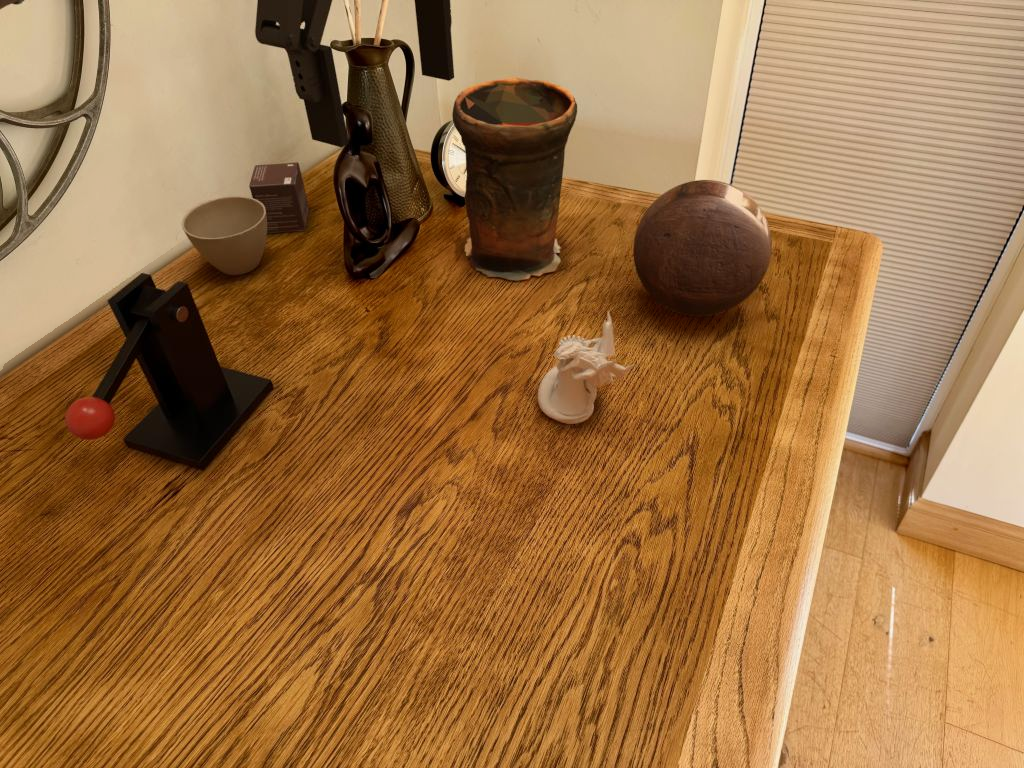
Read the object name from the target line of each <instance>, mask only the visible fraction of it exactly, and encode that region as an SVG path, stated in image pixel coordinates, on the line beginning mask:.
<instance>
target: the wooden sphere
mask: <svg viewBox="0 0 1024 768" xmlns="http://www.w3.org/2000/svg"><path fill="white" fill-rule="evenodd" d="M637 225H638V226H637V229H636V231H635V235H634V241H633V249H632V250H633V253H632V254H633V263H634V268H635V271H636V274H637V276H638V279H639V281H640V283H641V285H642V286H643V288H644V289H645V290H646V292H647V294H649V295H650V296H651V298H652V299H654V301H656V302H657V303H658V304H659V305H661V306H663V307H664V308H666V309H668V310H670V311H672V312H675V313H678V314H681V315H685V316H690V317H691V316H692V317H707V316H715V315H717V314H722V313H725V312H727V311H730V310H731V309H734V308H735V307H737V306H738V305H740V304H741V303H743V302H744V301H745V300H747V299H748V298H749V297H750V296H751V295H752V294H753V293H754V292H755V291H756V290H757V289H758V287H759V286H760V285H761V282H763V279H764V278H765V276H766V274H767V272H768V269H769V265H770V261H771V258H772V250H773V243H772V241H773V239H772V233H771V228H770V225H769V221H768V219H767V217H766V215H765V213H764V211H763V210H762V208H761V207H760V205H759V204H758V203H757V201H755V200H754V198H753V197H752V196H751V195H749V194H748V193H746V192H745V191H744V190H742V189H740V188H739V187H737V186H735V185H733V184H730V183H729V182H728V183H727V182H723V181H720V180H714V179H713V180H712V179H699V180H692V181H688V182H685V183H681V184H678V185H676V186H674V187H672V188H670V189H668V190H667V191H665V192H664V193H662V194H661V195H660V196H658V197H657V198H656V199H655V200H654V201H653V202H652V203H651V204H650V205H649V207H648V208H647V209H646V211H645V212H644V214H643V215H642V217H641V219H640V221H639V223H638V224H637Z"/></svg>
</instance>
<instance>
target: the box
mask: <svg viewBox="0 0 1024 768" xmlns="http://www.w3.org/2000/svg"><path fill="white" fill-rule="evenodd" d="M248 187H249V190H250V193H251V198H253V199H256V200H258V201H260V202H261V203H262V204H263V205H264V206H265V209H266V216H267V234H276V233H286V232H304V231H306V230H307V225H308V219H309V213H310V206H309V201H308V198H307V193H306V188H305V184H304V180H303V175H302V171H301V168H300V163H299V162H286V163H285V162H284V163H283V162H282V163H270V164H267V163H266V164H256V165H254V168H253V172H252V175H251V178H250V181H249V185H248Z"/></svg>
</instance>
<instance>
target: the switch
mask: <svg viewBox="0 0 1024 768" xmlns="http://www.w3.org/2000/svg"><path fill="white" fill-rule="evenodd" d="M166 291H167V290H165V289H162V288H157V287H156V288H153V287H149V286H145V287H144V288H143V290H142V291H141V293H140V295H139V296H138V298H137V300H136V301H135V303H134V305H133V306H132V308H131V310H130V313H131V314H133V315H134V316H135V317H136V318H137V319H138V320H137V322H136V323H135V325H134V327H133V328H132V330H131V332H130V334H129V335H128V337H127V339H126V338H125V340H124V342H123V343H122V345H121V347H120V349H119V350H118V352H117V354H116V355H115V357H114V358H113V361H112V362H111V364H110V366H108V369H107V370H106V372H105V374H104V376H103V377H102V379H101V380H100V382H99V384H98V386H97V388H96V389H95V390H94V393H93V394H92V396H84V397H81V398H79V399H77V400H75V401H74V402H72V403H71V404H70V405H69V406H68V408H67V410H66V412H65V415H64V423H65V426H66V428H67V430H68V431H69V432H70V433H71V434H72V435H73V436H75V438H79V439H81V440H84V441H85V440H86V441H93V440H98V439H101V438H103V437H105V436H106V435H108V433H109V432H110V431H112V429H113V427H114V426H115V425H114V424H115V422H116V413H115V411H114V409H113V407H112V406H111V403H112V401H113V399H114V398H115V396H116V394H117V392H118V391H119V389H120V387H121V386H122V384H123V382H124V381H125V379H126V377H127V375H128V373H129V372H130V371H131V368H132V366H133V365H134V363H135V361H137V359H136V358H137V356H138V354H139V353H140V351H141V349H142V347H143V346H144V344H145V342H146V341H147V339H148V337H149V335H150V334H151V332H152V330H153V326H152V324H151V322H150V320H149V318H148V315H147V313H146V311H145V309H146V308H147V307H148V306H150V305H151V304H152V303H153V302H154V301H156V300H157V299H158V298H159V297H160V296H161V295H163V294H164V293H165V292H166Z"/></svg>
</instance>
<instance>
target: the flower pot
mask: <svg viewBox="0 0 1024 768" xmlns="http://www.w3.org/2000/svg"><path fill="white" fill-rule="evenodd" d="M181 228H182V230H183V232H184V234H185V236H186V237H187V238H188V239H187V240H189V242H190V243H191V244H192V246H193V247H194V249H195V250H196V251H197V252H198V253H199V255H201V256H202V258H204V260H206V261H207V262H208V263H209V264H210V265H211V266H213V267H214V268H215V269H217V270H218V271H220V272H221V273H223V274H226V275H229V276H239V275H244V274H248V273H250V272H251V271H253V270H255V269H256V268H258V266H259V264H260V263H261V261H262V258H263V255H264V252H265V248H266V243H267V238H268V233H267V216H266V209H265V206H264V205H263V204H262V203H261V202H260V201H258V200H256V199H253V198H252V197H250V196H246V195H245V196H244V195H229V196H221V197H217V198H212V199H209V200H206V201H204V202H202V203H199V204H198V205H195V206H194V207H192V208H191V209H190V210H189V211H188V212H186V214H185V215H184V216H183V218H182V220H181Z"/></svg>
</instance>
